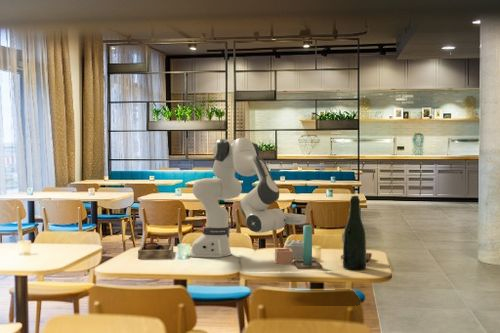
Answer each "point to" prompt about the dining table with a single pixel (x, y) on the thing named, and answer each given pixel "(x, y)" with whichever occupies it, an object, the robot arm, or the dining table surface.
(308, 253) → the teal dowel
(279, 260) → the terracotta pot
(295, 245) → the gray bumpy block
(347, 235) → the dark green wine bottle
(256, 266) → the dining table surface
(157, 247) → the pottery mug
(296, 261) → the walnut tray
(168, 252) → the shallow wooden crate
